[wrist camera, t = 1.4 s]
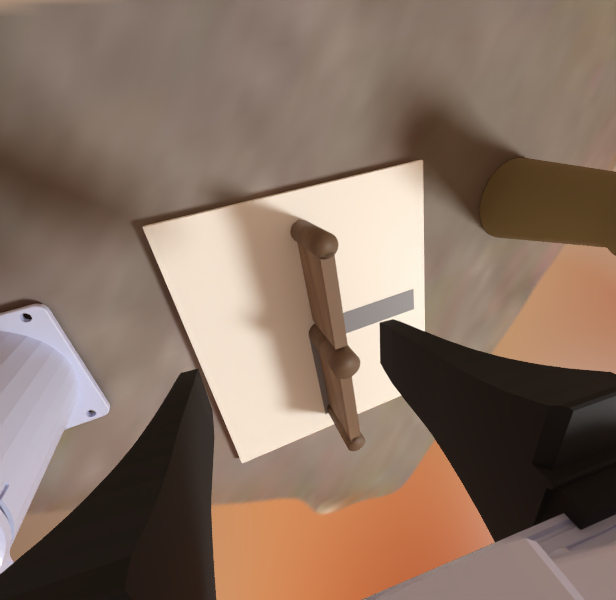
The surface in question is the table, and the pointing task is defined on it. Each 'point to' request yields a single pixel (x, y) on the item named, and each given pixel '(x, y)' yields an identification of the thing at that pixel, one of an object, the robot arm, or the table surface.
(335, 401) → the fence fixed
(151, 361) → the table surface
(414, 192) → the card
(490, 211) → the cork
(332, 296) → the fence gate
